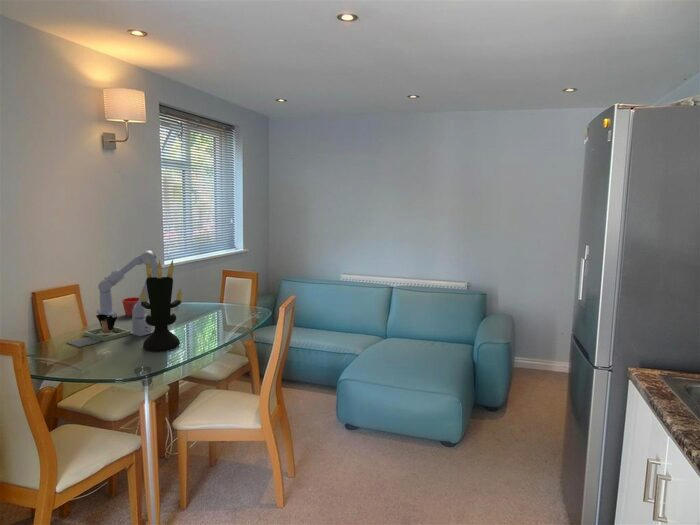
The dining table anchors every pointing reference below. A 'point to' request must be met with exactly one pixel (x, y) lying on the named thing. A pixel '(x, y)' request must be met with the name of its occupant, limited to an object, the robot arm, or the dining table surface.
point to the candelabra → (160, 309)
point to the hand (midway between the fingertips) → (107, 328)
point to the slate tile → (83, 342)
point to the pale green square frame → (123, 333)
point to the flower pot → (129, 305)
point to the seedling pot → (105, 327)
